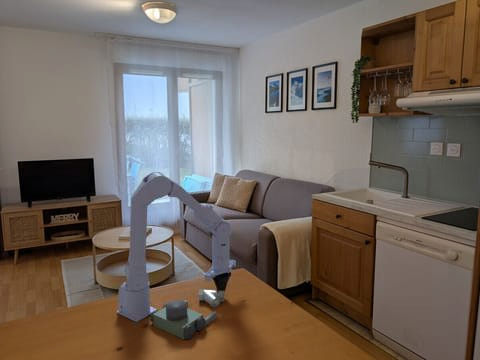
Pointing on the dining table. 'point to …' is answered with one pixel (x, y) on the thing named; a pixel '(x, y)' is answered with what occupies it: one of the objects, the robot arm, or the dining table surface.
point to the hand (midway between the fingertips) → (221, 293)
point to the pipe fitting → (211, 297)
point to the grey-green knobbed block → (180, 319)
